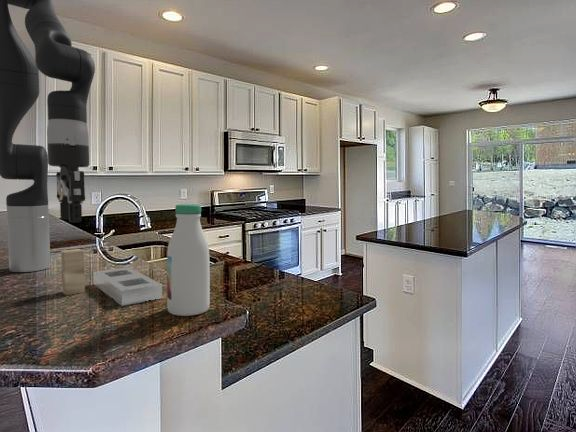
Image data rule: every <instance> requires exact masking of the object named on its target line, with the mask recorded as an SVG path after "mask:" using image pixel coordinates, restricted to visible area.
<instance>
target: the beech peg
mask: <svg viewBox="0 0 576 432" xmlns="http://www.w3.org/2000/svg"><path fill="white" fill-rule="evenodd" d="M60 256H61V257H60V259H61V260H60V262H61V263H60V264H61V287H62V288H61V289H62V293H63V294H64V295H65V296H72V294H73V295H77V293H79V294H84V292H85V293H86V287H85V286H86V285H85V284H86V283H85V251H84V250H82V249H81V248H76V249H68V250H67V249H64V250H61V251H60Z"/></svg>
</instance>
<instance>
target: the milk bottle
mask: <svg viewBox="0 0 576 432" xmlns="http://www.w3.org/2000/svg"><path fill="white" fill-rule="evenodd" d="M174 209H175V217H176V224H175V227H174V230H173V233H172V235H171V236H170V240H169V242H168V246H167V251H166V252H167V257H166V258H167V259H166V285H167V286H166V292H167V293H166V298H167V299H166V300H167V302H166V303H167V305H166V306H167V311H168V313H169V314H171V315H173V316H179V317H189V316H190V317H191V316H196V315H201V314H203V313H206V312H207V311H208V310H209V308H210V304H211V303H210V301H211V300H210V299H211V298H210V293H211V292H210V291H211V289H210V287H211V285H210V283H211V281H210V278H211V277H210V276H211V275H210V271H211V270H210V269H211V268H210V267H211V266H210V248H209V247H210V245H209V241H208V240H207V239H208V238H207V237H206V235H205V232H204V230H203V228H202V223H201V217H202V214H201V213H202V206H201V204H196V203H195V204H194V203H193V204H190V203H185V204H176V205H175V208H174Z"/></svg>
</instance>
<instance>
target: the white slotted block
mask: <svg viewBox="0 0 576 432" xmlns="http://www.w3.org/2000/svg"><path fill="white" fill-rule="evenodd" d="M93 285H94V286H95V287H96V288H98V289H99V291H100V290H101V292H103V293H104V294H105V295H107V296H108V297H109V298H110V299H112V298H113V299H114V302H116V303H117V304H119V305H120V306H121V307H124V306H129V305H130V306H131V305H135V304H140V303H145V301H146V302H150V301H149V300H151V301H155V299H156V300H161V298H162V299H163V284H162V283H161V282H159V281H156V280H155V279H152V278H151V277H149V276H147V275H145V274H143V273H141V272H139V271H137V270H135V269H133V268H131V267H129V266H128V267H122V268H113V269H105V270H104V269H103V270H97V271H95V270H94V271H93ZM113 299H112V300H113Z"/></svg>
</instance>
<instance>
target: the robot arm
mask: <svg viewBox="0 0 576 432" xmlns="http://www.w3.org/2000/svg"><path fill="white" fill-rule="evenodd" d="M9 5H10V6H13V7H18V8H22V9H25V10H28V11H27V12H26V14H25V17H24V25H25V29H26V31H27V34H28V35H29V38H30V39H31V41H32V43H33V44H34V49H35V50H34V51H35V54H34V55H35V58H34V56H33V55H32V53H31V51H30V49H29V48H28V47H27V46H26V44H25V42H23V40H22V38H21V37H20V35H19V33H18V32H17V29H16V28H15V25H14V24H13V21H12V17H11V13H10V10H9ZM95 71H96V65H95V62H94V59H93V57H92V55H91V54H90V53H89V52H88V51H86V50H84V49H81V48H78V47H74V46H72V40H71V37H70V35H69V34H68V32H67V31H66V29H65V28H64V26H63V24H62V23H61V21H60V19H59V17H58V15H57V12H56V11H55V7H54V4H53V1H52V0H0V177H1V178H2V179H4V180H14V181H15V180H17V181H19V180H20V181H21V180H22V181H23V180H24V181H29V180H30V181H33V184H31V185H30V186H29V187H27V188H25V189H23V190H19V191H16V192H13V193H10V194H7V196H6V199H5V201H6V202H5V204H6V221H7V224H6V225H7V246H8V269H9V272H12V273H29V272H37V271H42V270H47V269H50V268H51V242H50V217H49V213H50V212H49V196H48V193H49V192H48V191H49V190H48V178H49V177H48V174H49V173H48V171H49V166H51V167H59V168H60V171H56V173H55V175H56V198H57V200H58V202H59V210H60V211H59V212H60V213H59V214H60V219H62V220H68V221H69V222H70V223H72V224H73V223H75V224H76V223H81V222H82V221H83V215H82V214H83V213H82V209H83V207H82V204H83V203H84V201H86V192H85V191H86V189H85V173H84V171H83V170H80V169H79V168H88V167H89V166H90V141H89V138H90V137H89V129H88V113H87V106H88V105H87V103H88V98H89V95H90V90H91V88H92V87H91V86H92V83H93V81H94V77H95V73H96V72H95ZM40 73H42V74H43V76H46V77H49V78H51V79H55V80H61V81H63V82H64V81H66V82H67V83H68V82H69V83H71V87H70V89H69V90H54V91H50V92H49V93H48V94H47V129H46V136H47V137H46V139H47V140H46V144H47V146H46V147H47V149H46V148H45V147H44V146H43V145H37V144H36V145H35V144H19V143H18V144H15V143H13V137H14V134H15V132H16V129H17V128H18V126H19V124H20V123H21V121H22V120H23V118H24V117H25V116H26V114H27V113H28V112H30V110H31V108H32V107H33V106H34V105H35V103H36V102H37V100H38V98H39V95H40Z"/></svg>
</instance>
